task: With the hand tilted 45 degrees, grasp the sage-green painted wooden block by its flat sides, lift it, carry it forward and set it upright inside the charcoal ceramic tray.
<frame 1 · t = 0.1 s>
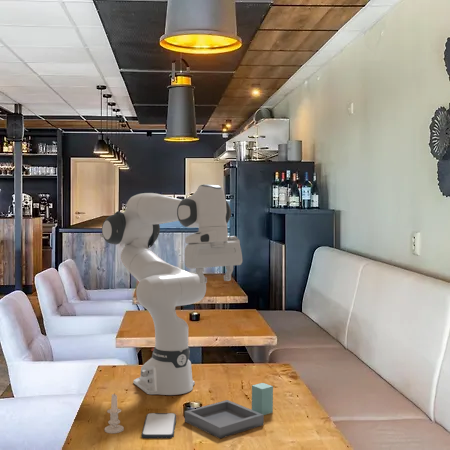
hand: (215, 281, 183), 39 cm above the table, tool pointing down, fingers open, 8 cm apart
sage block: (262, 412, 181), on the table
charcoal tray: (223, 423, 172), on the table
candle: (114, 430, 166), on the table
smartphone: (159, 429, 169), on the table
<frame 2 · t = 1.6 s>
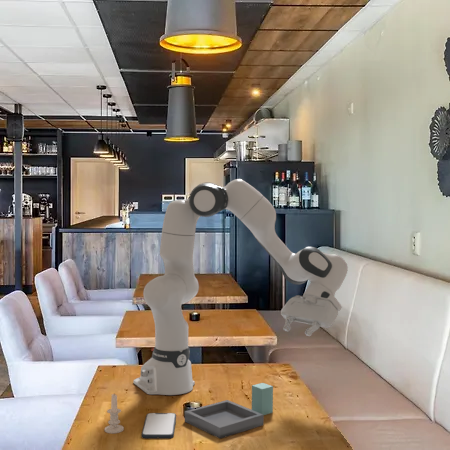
hand: (296, 332, 189), 22 cm above the table, tool tilted 45°, fingers open, 8 cm apart
nothing on the table moved.
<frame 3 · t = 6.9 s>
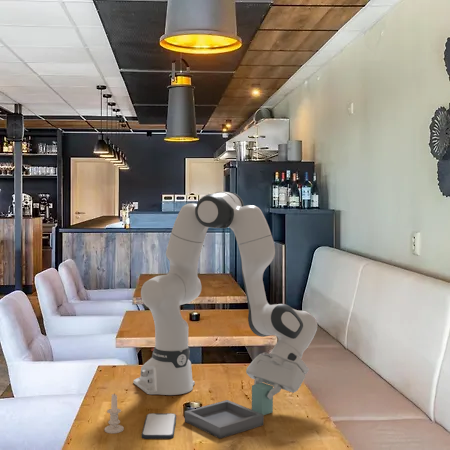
hand: (260, 395, 181), 5 cm above the table, tool tilted 45°, fingers closed on sage block, 4 cm apart
sage block: (262, 412, 181), on the table, touching gripper
everything else where it was.
when the fingers open (7 cm above the table, at t = 14.3 s): sage block drops 1 cm, resting on charcoal tray.
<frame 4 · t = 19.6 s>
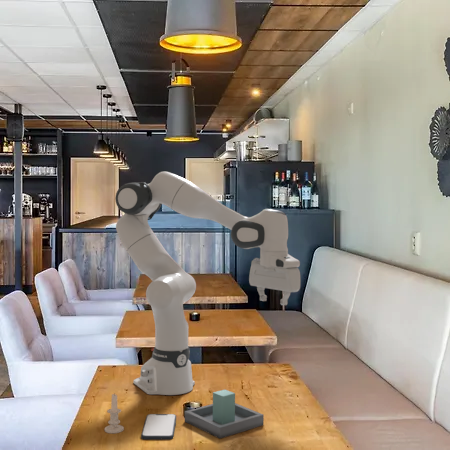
hand: (273, 302, 193), 31 cm above the table, tool pointing down, fingers open, 8 cm apart
sage block: (223, 420, 172), point 1 cm above the table, touching charcoal tray
everything else where it was.
at the end: sage block inside the target area on the charcoal tray (0.0 cm from its centre), point 0.8 cm above the charcoal tray's base; sage block tilted 0°; the gripper is holding nothing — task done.
